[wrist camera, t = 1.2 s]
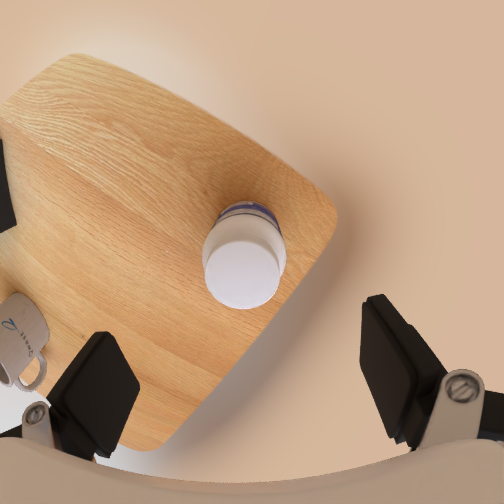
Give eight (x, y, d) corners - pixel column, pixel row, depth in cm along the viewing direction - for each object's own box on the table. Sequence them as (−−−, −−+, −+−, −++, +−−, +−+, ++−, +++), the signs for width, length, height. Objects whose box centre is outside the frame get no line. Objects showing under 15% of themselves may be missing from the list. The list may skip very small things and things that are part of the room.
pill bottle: (265, 269, 23) (270, 331, 15) (207, 249, 23) (181, 303, 15) (288, 212, 22) (308, 248, 13) (227, 190, 21) (207, 213, 13)
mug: (3, 289, 25) (-39, 323, 16) (36, 295, 25) (-11, 338, 16) (31, 356, 30) (1, 394, 20) (66, 368, 30) (35, 413, 20)
